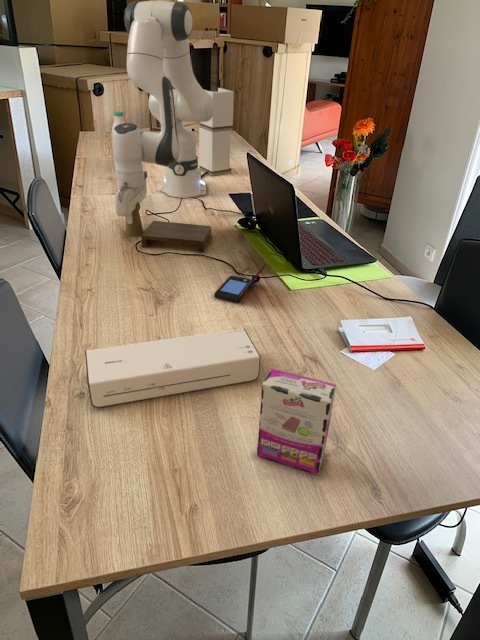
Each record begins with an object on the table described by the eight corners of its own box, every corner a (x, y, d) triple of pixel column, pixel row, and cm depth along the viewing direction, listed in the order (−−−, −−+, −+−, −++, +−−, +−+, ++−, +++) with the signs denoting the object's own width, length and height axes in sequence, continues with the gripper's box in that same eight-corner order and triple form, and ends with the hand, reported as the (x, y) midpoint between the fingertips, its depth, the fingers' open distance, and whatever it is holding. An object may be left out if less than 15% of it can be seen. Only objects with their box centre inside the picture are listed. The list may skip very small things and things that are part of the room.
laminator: (91, 409, 94) (87, 384, 91) (88, 370, 104) (84, 346, 101) (259, 380, 103) (260, 356, 100) (241, 347, 113) (242, 324, 110)
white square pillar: (231, 173, 230) (233, 91, 211) (212, 176, 225) (212, 92, 206) (218, 167, 238) (219, 87, 219) (199, 169, 232) (198, 88, 214)
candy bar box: (324, 455, 87) (338, 383, 78) (318, 476, 83) (331, 403, 74) (264, 437, 90) (271, 366, 81) (255, 456, 86) (261, 384, 77)
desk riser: (153, 231, 168) (153, 220, 166) (211, 237, 166) (211, 225, 164) (141, 247, 157) (141, 235, 155) (203, 253, 155) (203, 241, 153)
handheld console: (230, 278, 141) (231, 254, 137) (265, 286, 138) (267, 262, 134) (212, 298, 131) (212, 273, 127) (250, 307, 128) (251, 282, 124)
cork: (139, 237, 163) (137, 205, 157) (122, 235, 164) (119, 203, 158) (146, 230, 168) (143, 199, 162) (129, 228, 169) (126, 197, 163)
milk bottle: (127, 156, 248) (124, 113, 237) (112, 155, 248) (108, 113, 237) (131, 152, 255) (127, 110, 244) (116, 151, 255) (112, 110, 244)
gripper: (128, 189, 147) (132, 232, 155) (148, 170, 165) (151, 210, 172) (108, 187, 148) (113, 230, 156) (130, 169, 165) (133, 208, 173)
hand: (133, 219), depth 164 cm, fingers closed on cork, 4 cm apart
